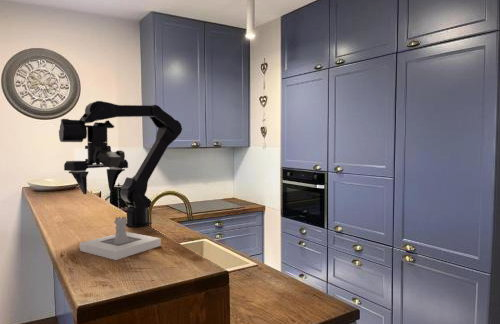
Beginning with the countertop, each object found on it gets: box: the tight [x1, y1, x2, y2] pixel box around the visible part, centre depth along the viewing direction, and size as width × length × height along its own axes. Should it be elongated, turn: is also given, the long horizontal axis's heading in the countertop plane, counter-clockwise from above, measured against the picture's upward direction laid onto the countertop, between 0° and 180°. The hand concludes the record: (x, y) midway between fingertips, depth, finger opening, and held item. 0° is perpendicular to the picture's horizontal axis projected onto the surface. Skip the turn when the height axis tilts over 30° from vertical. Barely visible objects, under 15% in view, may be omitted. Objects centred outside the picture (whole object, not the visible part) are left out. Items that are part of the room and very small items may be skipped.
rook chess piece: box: [113, 216, 129, 244], centre depth 91 cm, size 4×4×8 cm
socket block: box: [79, 231, 162, 261], centre depth 91 cm, size 14×14×2 cm
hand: (98, 192), depth 110 cm, fingers open, 9 cm apart
